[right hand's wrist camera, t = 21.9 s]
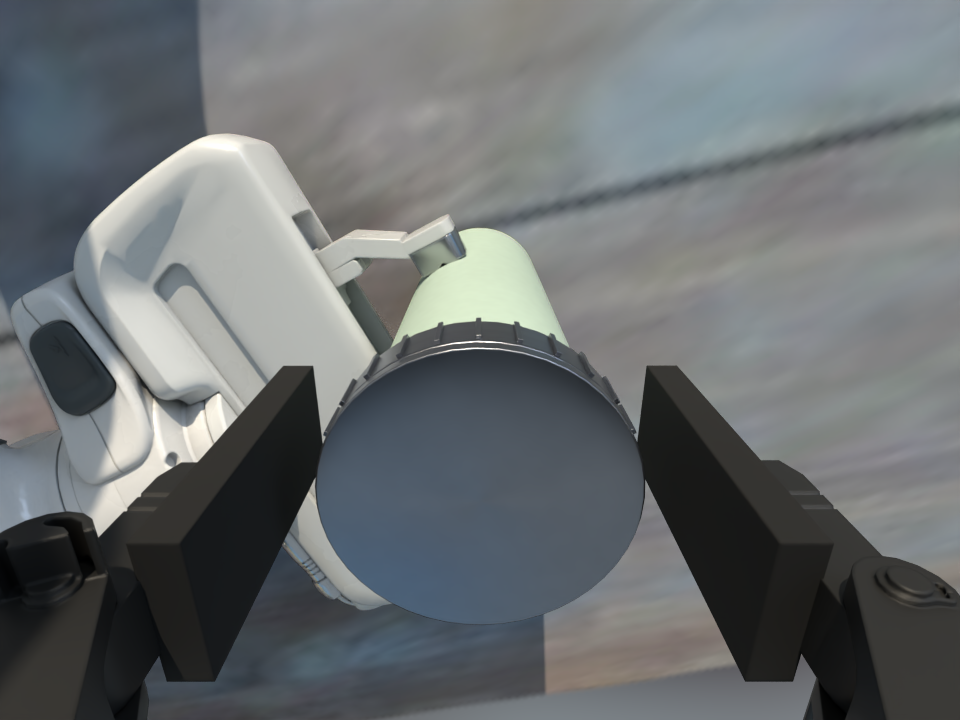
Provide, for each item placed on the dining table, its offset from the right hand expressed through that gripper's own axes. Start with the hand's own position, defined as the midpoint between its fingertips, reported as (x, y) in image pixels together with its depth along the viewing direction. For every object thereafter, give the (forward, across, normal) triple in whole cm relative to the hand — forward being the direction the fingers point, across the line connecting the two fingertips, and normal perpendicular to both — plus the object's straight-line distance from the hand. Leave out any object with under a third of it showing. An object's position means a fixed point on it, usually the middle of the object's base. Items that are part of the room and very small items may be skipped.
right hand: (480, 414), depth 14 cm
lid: (-3, 0, 0) cm, 3 cm away
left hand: (+8, -1, 0) cm, 8 cm away
